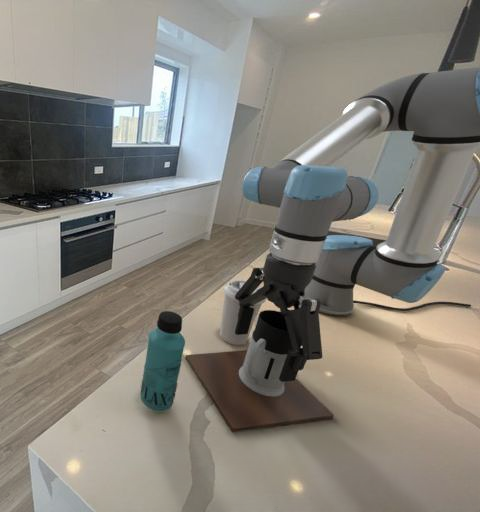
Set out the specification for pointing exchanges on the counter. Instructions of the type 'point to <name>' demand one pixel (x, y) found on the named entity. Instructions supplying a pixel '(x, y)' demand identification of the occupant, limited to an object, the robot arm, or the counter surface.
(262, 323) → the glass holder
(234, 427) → the walnut board
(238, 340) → the coffee cup
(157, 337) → the beverage bottle
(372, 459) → the counter surface
